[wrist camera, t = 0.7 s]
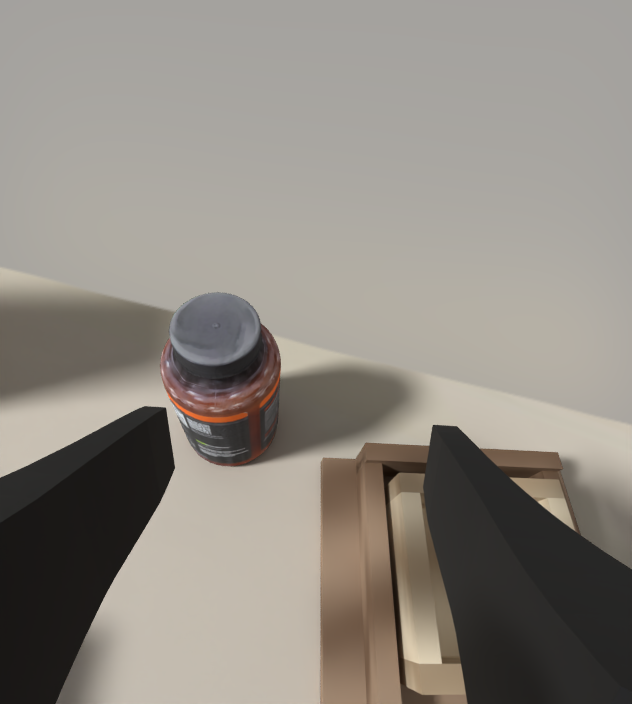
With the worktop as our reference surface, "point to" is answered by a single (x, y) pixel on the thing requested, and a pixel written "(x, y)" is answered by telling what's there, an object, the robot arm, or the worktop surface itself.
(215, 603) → the worktop surface
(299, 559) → the worktop surface
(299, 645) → the worktop surface
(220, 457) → the supplement bottle
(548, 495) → the drawer
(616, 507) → the worktop surface
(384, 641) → the bay
